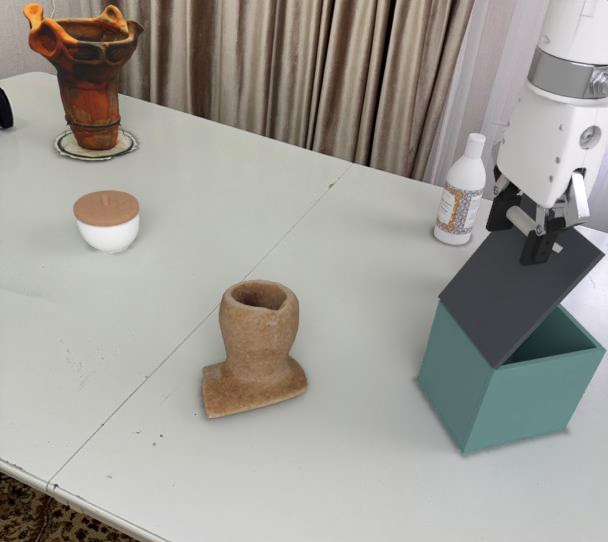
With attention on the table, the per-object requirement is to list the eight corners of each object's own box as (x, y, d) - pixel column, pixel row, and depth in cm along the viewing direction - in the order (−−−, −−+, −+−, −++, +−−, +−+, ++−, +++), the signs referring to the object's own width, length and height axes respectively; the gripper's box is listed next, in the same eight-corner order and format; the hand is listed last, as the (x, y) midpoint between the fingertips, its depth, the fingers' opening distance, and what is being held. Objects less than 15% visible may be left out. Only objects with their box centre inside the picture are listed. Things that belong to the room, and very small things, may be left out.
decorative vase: (170, 146, 141) (159, 10, 123) (79, 175, 128) (52, 27, 109) (117, 117, 151) (100, -13, 132) (28, 141, 138) (-5, 0, 119)
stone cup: (284, 346, 93) (290, 263, 83) (316, 401, 85) (326, 316, 75) (185, 368, 88) (178, 282, 78) (208, 429, 80) (203, 341, 70)
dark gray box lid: (530, 191, 72) (505, 174, 69) (606, 254, 63) (580, 238, 60) (441, 298, 79) (415, 287, 76) (497, 370, 70) (469, 360, 67)
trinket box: (83, 264, 105) (73, 215, 99) (78, 232, 112) (69, 184, 106) (147, 256, 108) (141, 208, 102) (139, 225, 115) (133, 178, 109)
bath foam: (426, 230, 121) (449, 130, 108) (455, 225, 123) (482, 126, 110) (445, 249, 116) (472, 146, 103) (476, 243, 119) (506, 142, 105)
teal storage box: (510, 364, 93) (541, 284, 84) (564, 431, 84) (607, 350, 74) (416, 382, 89) (438, 300, 79) (462, 454, 80) (493, 372, 70)
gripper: (676, 107, 50) (593, 287, 62) (551, 42, 62) (502, 203, 74) (600, 113, 48) (529, 297, 60) (486, 44, 60) (447, 210, 72)
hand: (515, 244), depth 67 cm, fingers closed on dark gray box lid, 6 cm apart
